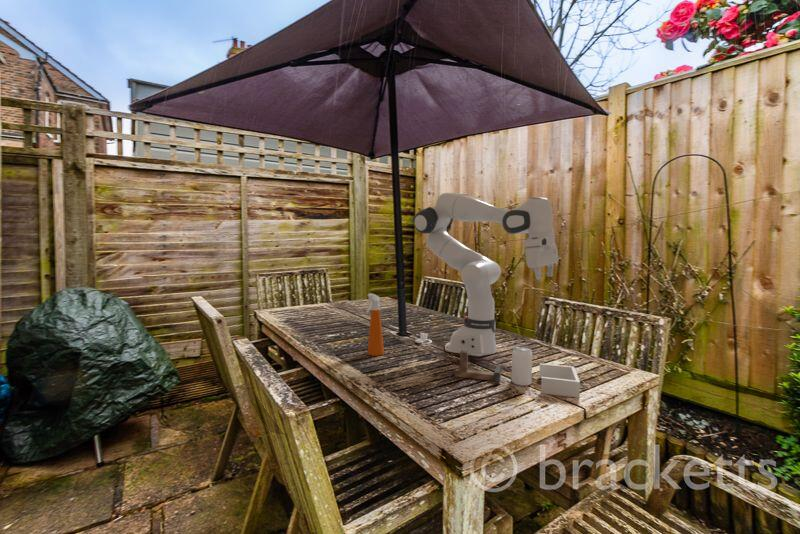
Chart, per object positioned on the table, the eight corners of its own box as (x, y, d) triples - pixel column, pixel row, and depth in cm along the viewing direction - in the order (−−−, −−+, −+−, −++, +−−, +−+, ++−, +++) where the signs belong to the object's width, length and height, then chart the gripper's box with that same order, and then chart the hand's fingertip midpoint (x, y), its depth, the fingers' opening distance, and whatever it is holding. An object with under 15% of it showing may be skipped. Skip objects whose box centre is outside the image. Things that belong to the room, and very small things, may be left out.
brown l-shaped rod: (453, 379, 129) (453, 353, 128) (457, 371, 136) (457, 347, 136) (499, 384, 124) (499, 358, 123) (500, 376, 131) (501, 351, 131)
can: (521, 387, 121) (522, 352, 120) (507, 380, 127) (508, 346, 126) (535, 384, 124) (536, 349, 123) (521, 377, 130) (522, 344, 129)
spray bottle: (359, 357, 152) (358, 293, 150) (372, 349, 162) (372, 290, 159) (374, 359, 149) (374, 295, 147) (387, 352, 159) (386, 291, 156)
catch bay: (541, 393, 117) (541, 377, 117) (539, 377, 130) (539, 363, 130) (579, 397, 114) (580, 382, 113) (573, 380, 127) (574, 366, 126)
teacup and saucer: (418, 345, 169) (418, 336, 169) (410, 341, 176) (410, 332, 176) (435, 343, 173) (435, 334, 172) (427, 339, 180) (427, 330, 180)
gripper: (545, 240, 147) (547, 274, 147) (521, 242, 132) (524, 281, 133) (561, 238, 142) (564, 274, 143) (538, 241, 128) (541, 281, 128)
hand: (544, 277), depth 138 cm, fingers open, 8 cm apart
